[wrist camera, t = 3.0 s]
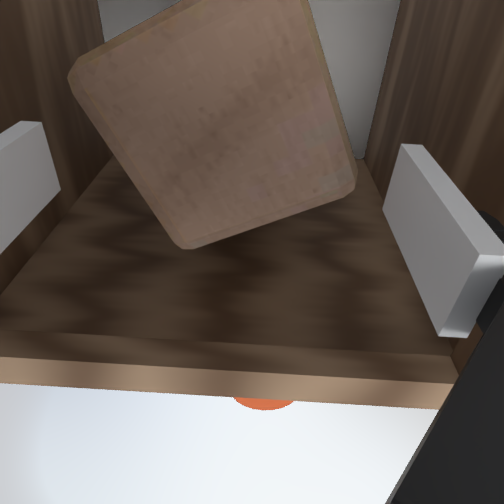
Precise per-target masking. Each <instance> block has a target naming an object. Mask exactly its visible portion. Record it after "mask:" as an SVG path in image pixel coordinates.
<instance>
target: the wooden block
mask: <svg viewBox="0 0 504 504" xmlns="http://www.w3.org/2000/svg"><path fill="white" fill-rule="evenodd" d="M67 79H68V82H69V85H70V87H71V90H72V93H73V95H74V97H75V98H76V100H77V101H78V103H79V104H80V105H81V107H82V108H83V110H84V111H85V113H86V114H87V116H88V117H89V119H90V120H91V122H92V123H93V125H94V126H95V127H96V129H97V130H98V132H99V133H100V135H101V136H102V138H103V139H104V141H105V142H106V144H107V145H108V147H109V148H110V149H111V151H112V152H113V154H114V155H115V157H116V158H117V160H118V161H119V163H120V164H121V166H122V167H123V169H124V170H125V171H126V173H127V174H128V176H129V177H130V179H131V180H132V182H133V183H134V185H135V186H136V188H137V189H138V191H139V192H140V194H141V195H142V196H143V198H144V199H145V201H146V202H147V204H148V205H149V207H150V208H151V210H152V211H153V213H154V214H155V216H156V217H157V218H158V220H159V221H160V223H161V224H162V226H163V227H164V229H165V230H166V232H167V233H168V235H169V236H170V238H171V239H172V240H173V242H174V243H175V244H176V245H177V246H179V247H180V248H182V249H195V248H198V247H201V246H204V245H207V244H210V243H213V242H216V241H218V240H221V239H224V238H227V237H230V236H233V235H236V234H239V233H242V232H245V231H247V230H250V229H253V228H256V227H259V226H262V225H265V224H268V223H271V222H274V221H276V220H279V219H282V218H285V217H288V216H291V215H294V214H297V213H300V212H303V211H306V210H308V209H311V208H314V207H317V206H320V205H323V204H326V203H329V202H332V201H335V200H337V199H340V198H343V197H345V196H346V195H348V194H349V193H350V192H352V191H353V190H354V189H355V186H356V180H357V174H358V168H357V165H356V161H355V158H354V155H353V151H352V148H351V144H350V141H349V138H348V134H347V131H346V128H345V124H344V121H343V117H342V114H341V111H340V107H339V104H338V100H337V97H336V94H335V90H334V87H333V84H332V80H331V77H330V73H329V70H328V67H327V63H326V60H325V56H324V53H323V50H322V46H321V43H320V40H319V36H318V33H317V29H316V26H315V23H314V19H313V16H312V12H311V9H310V6H309V2H308V0H182V1H180V2H178V3H176V4H175V5H173V6H171V7H169V8H167V9H166V10H164V11H162V12H160V13H158V14H156V15H155V16H153V17H151V18H149V19H147V20H146V21H144V22H142V23H140V24H138V25H137V26H135V27H133V28H131V29H129V30H127V31H126V32H124V33H122V34H120V35H118V36H117V37H115V38H113V39H111V40H109V41H108V42H106V43H104V44H102V45H100V46H98V47H97V48H95V49H93V50H91V51H89V52H88V53H86V54H84V55H82V56H80V57H79V58H77V60H76V62H75V63H74V65H73V66H72V68H71V70H70V71H69V73H68V77H67Z"/></svg>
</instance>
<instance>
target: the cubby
mask: <svg viewBox="0 0 504 504" xmlns="http://www.w3.org/2000/svg"><path fill="white" fill-rule="evenodd" d="M102 44H104V38H103V32H102V26H101V20H100V14H99V8H98V2H97V0H0V134H1V133H2V132H4V131H5V130H7V129H9V128H10V127H12V126H13V125H15V124H17V123H18V122H20V121H32V122H42V125H43V129H44V132H45V136H46V139H47V143H48V146H49V150H50V153H51V157H52V160H53V164H54V167H55V171H56V174H57V178H58V181H59V185H60V188H61V190H60V191H59V192H58V193H57V194H56V195H55V196H54V197H53V199H52V200H51V201H50V202H49V203H48V204H47V205H46V206H45V207H44V208H43V209H42V210H41V211H40V212H39V213H38V214H37V216H36V217H35V218H34V219H33V220H32V221H31V222H30V223H29V224H28V225H27V226H26V227H25V228H24V229H23V230H22V232H21V233H20V234H19V235H18V236H17V237H16V238H15V239H14V240H13V241H12V242H11V243H10V244H9V245H8V246H7V247H6V249H5V250H4V251H3V252H2V253H1V254H0V383H8V384H25V385H41V386H58V387H74V388H75V387H76V388H91V389H107V390H125V391H140V392H157V393H175V394H190V395H207V396H225V397H239V398H256V399H272V400H289V401H306V402H322V403H340V404H355V405H372V406H388V407H405V408H421V409H438V410H440V408H441V406H442V404H443V403H444V401H445V399H446V397H447V396H448V394H449V392H450V390H451V389H452V387H453V385H454V383H455V382H456V380H457V378H458V377H459V375H460V373H461V371H462V370H463V368H464V366H465V364H466V363H467V360H468V358H469V357H470V355H471V353H472V352H473V350H474V348H475V347H476V345H477V344H478V342H479V340H480V339H481V337H482V335H483V333H482V331H481V329H480V327H479V326H478V324H477V322H476V323H475V325H474V327H473V329H472V330H471V332H470V334H469V335H468V337H467V338H459V337H443V336H438V334H437V332H436V330H435V328H434V325H433V323H432V321H431V319H430V316H429V314H428V312H427V309H426V307H425V305H424V303H423V300H422V298H421V296H420V294H419V291H418V289H417V287H416V285H415V282H414V280H413V278H412V276H411V273H410V271H409V269H408V267H407V264H406V262H405V260H404V257H403V255H402V253H401V251H400V248H399V246H398V244H397V242H396V239H395V237H394V235H393V233H392V230H391V228H390V226H389V224H388V221H387V219H386V217H385V215H384V212H383V210H382V208H383V205H384V201H385V198H386V194H387V191H388V187H389V184H390V180H391V177H392V174H393V170H394V167H395V163H396V160H397V156H398V153H399V149H400V146H401V144H416V145H423V146H424V148H425V149H426V150H427V151H428V152H429V154H430V155H431V156H432V157H433V159H434V160H435V161H436V162H437V163H438V165H439V166H440V167H441V168H442V170H443V171H444V172H445V173H446V174H447V176H448V177H449V178H450V179H451V180H452V182H453V183H454V184H455V185H456V187H457V188H458V189H459V190H460V191H461V193H462V194H463V195H464V196H465V198H466V199H467V200H468V201H469V202H470V204H471V205H472V206H473V207H474V209H475V210H479V211H485V212H486V213H488V214H489V215H491V216H493V217H494V218H496V219H497V220H499V221H500V223H501V224H502V225H503V226H504V0H401V2H400V6H399V10H398V14H397V19H396V23H395V27H394V32H393V36H392V40H391V44H390V49H389V53H388V57H387V61H386V66H385V70H384V74H383V78H382V83H381V87H380V91H379V96H378V100H377V104H376V108H375V113H374V117H373V121H372V125H371V130H370V134H369V138H368V142H367V147H366V151H365V155H364V159H355V161H356V165H357V168H358V174H357V180H356V186H355V189H354V190H353V191H352V192H350V193H349V194H348V195H346V196H345V197H343V198H340V199H337V200H335V201H332V202H329V203H326V204H323V205H320V206H317V207H314V208H311V209H308V210H306V211H303V212H300V213H297V214H294V215H291V216H288V217H285V218H282V219H279V220H276V221H274V222H271V223H268V224H265V225H262V226H259V227H256V228H253V229H250V230H247V231H245V232H242V233H239V234H236V235H233V236H230V237H227V238H224V239H221V240H218V241H216V242H213V243H210V244H207V245H204V246H201V247H198V248H195V249H182V248H180V247H179V246H177V245H176V244H175V243H174V242H173V240H172V239H171V238H170V236H169V235H168V233H167V232H166V230H165V229H164V227H163V226H162V224H161V223H160V221H159V220H158V218H157V217H156V216H155V214H154V213H153V211H152V210H151V208H150V207H149V205H148V204H147V202H146V201H145V199H144V198H143V196H142V195H141V194H140V192H139V191H138V189H137V188H136V186H135V185H134V183H133V182H132V180H131V179H130V177H129V176H128V174H127V173H126V171H125V170H124V169H123V167H122V166H121V164H120V163H119V161H118V160H117V158H116V157H115V155H114V154H113V152H112V151H111V149H110V148H109V147H108V145H107V144H106V142H105V141H104V139H103V138H102V136H101V135H100V133H99V132H98V130H97V129H96V127H95V126H94V125H93V123H92V122H91V120H90V119H89V117H88V116H87V114H86V113H85V111H84V110H83V108H82V107H81V105H80V104H79V103H78V101H77V100H76V98H75V97H74V95H73V93H72V90H71V87H70V85H69V82H68V79H67V77H68V73H69V71H70V70H71V68H72V66H73V65H74V63H75V62H76V60H77V58H79V57H80V56H82V55H84V54H86V53H88V52H89V51H91V50H93V49H95V48H97V47H98V46H100V45H102Z"/></svg>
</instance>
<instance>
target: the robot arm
mask: <svg viewBox="0 0 504 504" xmlns="http://www.w3.org/2000/svg"><path fill="white" fill-rule="evenodd" d="M60 190H61V188H60V185H59V181H58V178H57V174H56V171H55V167H54V164H53V160H52V157H51V153H50V150H49V146H48V143H47V139H46V136H45V132H44V129H43V125H42V122H32V121H20V122H18V123H17V124H15V125H13V126H12V127H10V128H9V129H7V130H5V131H4V132H2V133H1V134H0V254H1V253H2V252H3V251H4V250H5V249H6V247H7V246H8V245H9V244H10V243H11V242H12V241H13V240H14V239H15V238H16V237H17V236H18V235H19V234H20V233H21V232H22V230H23V229H24V228H25V227H26V226H27V225H28V224H29V223H30V222H31V221H32V220H33V219H34V218H35V217H36V216H37V214H38V213H39V212H40V211H41V210H42V209H43V208H44V207H45V206H46V205H47V204H48V203H49V202H50V201H51V200H52V199H53V197H54V196H55V195H56V194H57V193H58V192H59V191H60ZM382 210H383V212H384V215H385V217H386V219H387V221H388V224H389V226H390V228H391V230H392V233H393V235H394V237H395V239H396V242H397V244H398V246H399V248H400V251H401V253H402V255H403V257H404V260H405V262H406V264H407V267H408V269H409V271H410V273H411V276H412V278H413V280H414V282H415V285H416V287H417V289H418V291H419V294H420V296H421V298H422V300H423V303H424V305H425V307H426V309H427V312H428V314H429V316H430V319H431V321H432V323H433V325H434V328H435V330H436V332H437V334H438V336H443V337H459V338H467V337H468V335H469V334H470V332H471V330H472V329H473V327H474V325H475V323H476V322H477V324H478V326H479V327H480V329H481V331H482V333H483V335H482V337H481V339H480V340H479V342H478V344H477V345H476V347H475V348H474V350H473V352H472V353H471V355H470V357H469V358H468V360H467V363H466V364H465V366H464V368H463V370H462V371H461V373H460V375H459V377H458V378H457V380H456V382H455V383H454V385H453V387H452V389H451V390H450V392H449V394H448V396H447V397H446V399H445V401H444V403H443V404H442V406H441V408H440V410H439V411H438V413H437V415H436V416H435V418H434V420H433V422H432V423H431V425H430V427H429V429H428V430H427V432H426V434H425V436H424V437H423V439H422V441H421V442H420V444H419V446H418V448H417V449H416V451H415V453H414V455H413V456H412V458H411V460H410V462H409V463H408V465H407V467H406V468H405V470H404V472H403V474H402V475H401V477H400V479H399V481H398V482H397V484H396V486H395V488H394V489H393V491H392V493H391V494H390V496H389V498H388V500H387V502H386V503H385V504H504V226H503V225H502V224H501V223H500V221H499V220H497V219H496V218H494V217H493V216H491V215H489V214H488V213H486V212H485V211H479V210H475V209H474V207H473V206H472V205H471V204H470V202H469V201H468V200H467V199H466V198H465V196H464V195H463V194H462V193H461V191H460V190H459V189H458V188H457V187H456V185H455V184H454V183H453V182H452V180H451V179H450V178H449V177H448V176H447V174H446V173H445V172H444V171H443V170H442V168H441V167H440V166H439V165H438V163H437V162H436V161H435V160H434V159H433V157H432V156H431V155H430V154H429V152H428V151H427V150H426V149H425V148H424V146H423V145H416V144H401V146H400V149H399V153H398V156H397V160H396V163H395V167H394V170H393V174H392V177H391V180H390V184H389V187H388V191H387V194H386V198H385V201H384V205H383V208H382Z"/></svg>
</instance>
